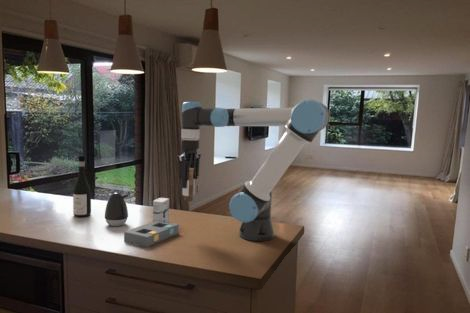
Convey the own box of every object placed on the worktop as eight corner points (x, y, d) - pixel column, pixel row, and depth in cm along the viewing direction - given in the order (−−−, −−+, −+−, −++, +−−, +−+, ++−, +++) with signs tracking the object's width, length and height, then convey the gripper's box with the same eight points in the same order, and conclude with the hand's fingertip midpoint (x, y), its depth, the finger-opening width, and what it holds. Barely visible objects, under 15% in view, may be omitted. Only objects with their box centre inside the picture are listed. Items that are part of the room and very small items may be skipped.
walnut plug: (194, 200, 158) (195, 167, 156) (189, 201, 154) (190, 168, 153) (187, 199, 159) (188, 166, 158) (182, 200, 156) (183, 167, 155)
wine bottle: (84, 218, 179) (84, 156, 176) (70, 217, 180) (69, 155, 177) (94, 214, 187) (93, 155, 184) (79, 213, 188) (79, 154, 185)
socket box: (178, 233, 161) (178, 223, 160) (147, 247, 143) (148, 236, 143) (156, 228, 166) (156, 219, 166) (124, 241, 149) (124, 231, 148)
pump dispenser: (124, 228, 165) (124, 195, 164) (101, 227, 165) (101, 194, 164) (131, 222, 176) (131, 190, 174) (109, 221, 175) (109, 189, 174)
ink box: (162, 227, 169) (162, 202, 168) (152, 226, 170) (152, 201, 169) (169, 222, 177) (169, 198, 176) (159, 221, 178) (160, 197, 177)
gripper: (194, 138, 163) (192, 190, 166) (170, 139, 149) (169, 196, 151) (208, 139, 160) (206, 192, 162) (185, 140, 145) (184, 199, 148)
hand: (188, 194), depth 157 cm, fingers closed on walnut plug, 3 cm apart
